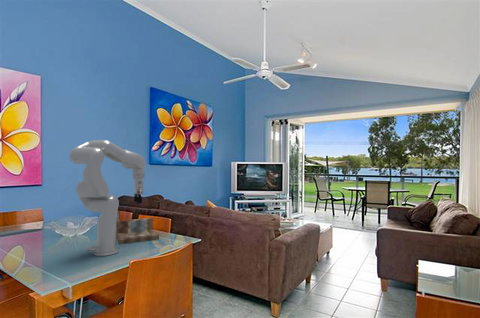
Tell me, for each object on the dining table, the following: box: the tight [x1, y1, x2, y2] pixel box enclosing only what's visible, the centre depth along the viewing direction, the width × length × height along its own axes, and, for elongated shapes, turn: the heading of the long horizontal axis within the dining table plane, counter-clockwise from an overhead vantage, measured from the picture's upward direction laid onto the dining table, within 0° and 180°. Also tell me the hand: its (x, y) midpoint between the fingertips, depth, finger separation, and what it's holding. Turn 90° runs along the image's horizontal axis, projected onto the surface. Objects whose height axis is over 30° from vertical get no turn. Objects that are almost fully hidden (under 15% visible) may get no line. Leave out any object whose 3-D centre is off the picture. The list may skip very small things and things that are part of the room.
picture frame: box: [128, 217, 148, 236], centre depth 178 cm, size 12×5×10 cm, turn 121°
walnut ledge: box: [116, 217, 160, 245], centre depth 179 cm, size 24×20×10 cm
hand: (137, 202), depth 178 cm, fingers open, 9 cm apart
